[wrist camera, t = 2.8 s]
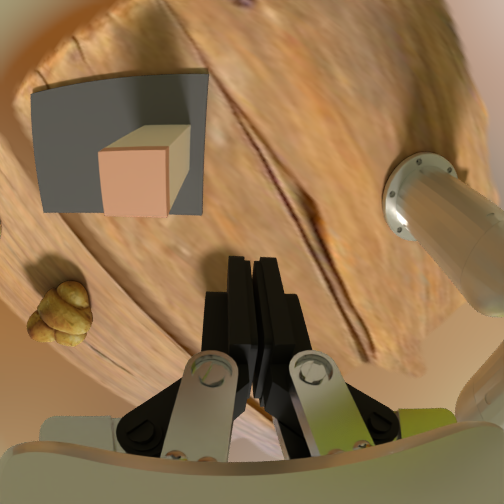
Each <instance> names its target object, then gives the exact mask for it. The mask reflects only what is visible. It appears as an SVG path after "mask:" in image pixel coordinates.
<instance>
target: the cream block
mask: <svg viewBox="0 0 504 504" xmlns="http://www.w3.org/2000/svg"><path fill="white" fill-rule="evenodd" d="M190 131H191V125H144V126H142V127H140V128H138V129H137V130H135V131H133V132H131V133H129V134H127V135H126V136H124V137H122V138H120V139H119V140H117V141H115V142H114V143H112V144H110V145H108V146H107V147H105V148H103V149H102V150H100V151H99V152H98V160H99V172H100V183H101V192H102V200H103V208H104V216H125V217H161V218H167V216H168V214H169V212H170V210H171V207H172V205H173V203H174V201H175V199H176V197H177V194H178V192H179V190H180V188H181V186H182V184H183V182H184V180H185V178H186V176H187V173H188V171H189V165H190Z"/></svg>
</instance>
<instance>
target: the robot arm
mask: <svg viewBox="0 0 504 504" xmlns="http://www.w3.org/2000/svg"><path fill="white" fill-rule="evenodd" d="M382 207H383V214H384V218H385V220H386V223H387V225H388V226H389V227H390V229H391V230H392V231H393V232H394V233H395V234H396V235H397V236H399V237H400V238H402V239H405V240H408V241H418V242H419V243H420V245H421V246H422V247H423V248H424V249H425V250H426V251H427V252H428V254H429V255H430V256H431V257H432V258H433V259H434V261H435V262H436V263H437V264H438V265H439V267H440V268H441V269H442V270H443V271H444V273H445V274H446V275H447V276H448V277H449V279H450V280H451V281H452V282H453V284H454V285H455V286H456V287H457V289H458V290H459V291H460V293H461V294H462V295H463V296H464V298H465V299H466V300H467V301H468V303H469V304H470V305H471V306H472V307H473V308H474V309H475V310H476V311H477V312H479V313H481V314H483V315H486V316H490V317H504V211H503V210H502V209H501V208H500V207H498V206H497V205H495V204H494V203H493V202H491V201H490V200H488V199H487V198H486V197H484V196H483V195H481V194H480V193H478V192H477V191H475V190H474V189H472V188H471V187H469V186H468V185H466V184H465V183H463V182H462V181H460V180H459V179H458V177H457V173H456V171H455V169H454V167H453V166H452V165H451V163H450V162H449V161H448V160H446V159H445V158H444V157H442V156H440V155H438V154H435V153H432V152H420V153H416V154H414V155H411V156H409V157H408V158H406V159H405V160H403V161H402V162H401V163H400V164H399V165H398V166H397V167H396V168H395V169H394V171H393V172H392V174H391V175H390V177H389V179H388V181H387V183H386V186H385V189H384V193H383V200H382ZM252 385H253V396H254V398H259V401H260V407H264V408H265V411H266V412H268V413H269V414H270V415H272V417H273V423H274V426H275V430H276V433H277V436H278V440H279V443H280V446H281V449H282V453H283V456H284V459H285V460H279V461H264V462H228V456H229V449H230V442H231V435H232V428H233V421H234V420H235V419H236V418H237V417H238V416H239V415H240V414H242V413H243V412H244V411H245V407H246V401H247V398H249V397H250V391H251V386H252ZM0 504H504V340H503V342H502V343H501V344H500V345H499V346H498V348H497V349H496V350H495V351H494V353H493V354H492V355H491V356H490V357H489V358H488V360H487V361H486V362H485V363H484V364H483V365H482V366H481V368H480V369H479V370H478V371H477V372H476V373H475V374H474V375H473V376H472V378H471V379H470V380H469V381H468V382H467V384H466V385H465V386H464V388H463V390H462V391H461V393H460V395H459V397H458V399H457V402H456V407H455V416H454V414H453V413H452V412H451V411H449V410H448V409H444V408H429V409H427V408H426V409H398V410H397V411H392V410H391V409H390V408H388V407H387V406H385V405H383V404H381V403H380V402H378V401H376V400H375V399H373V398H371V397H369V396H368V395H366V394H364V393H362V392H361V391H359V390H357V389H356V388H354V387H352V386H351V385H349V384H347V383H346V382H345V381H344V379H343V377H342V375H341V373H340V371H339V369H338V367H337V365H336V363H335V362H334V361H333V359H332V358H330V357H329V356H328V355H327V354H324V353H322V352H320V351H315V350H312V347H311V343H310V340H309V336H308V332H307V328H306V324H305V321H304V317H303V313H302V310H301V306H300V302H299V299H298V296H297V295H296V294H284V290H283V285H282V281H281V277H280V272H279V268H278V264H277V259H276V258H271V257H260V261H254V266H253V275H251V265H250V261H244V256H229V260H228V278H227V292H206V296H205V308H204V320H203V334H202V348H201V352H199V353H197V354H195V355H194V356H192V357H191V358H190V359H189V360H188V362H187V364H186V366H185V370H184V373H183V377H182V378H180V379H179V380H177V381H176V382H175V383H173V384H172V385H170V386H169V387H167V388H166V389H164V390H163V391H161V392H160V393H158V394H157V395H155V396H154V397H152V398H151V399H149V400H148V401H146V402H144V403H143V404H141V405H140V406H138V407H137V408H135V409H134V410H132V411H130V412H129V413H128V414H126V415H125V416H124V417H122V418H112V417H111V416H54V417H50V418H48V419H47V420H45V421H44V423H43V424H42V426H41V429H40V436H39V441H32V442H25V443H21V444H17V445H15V446H12V447H10V448H9V449H8V450H7V451H6V452H5V453H4V454H3V456H2V457H1V459H0Z"/></svg>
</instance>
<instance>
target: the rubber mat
mask: <svg viewBox="0 0 504 504" xmlns="http://www.w3.org/2000/svg"><path fill="white" fill-rule="evenodd" d="M208 81H209V74H166V75H147V76H134V77H123V78H114V79H106V80H98V81H91V82H85V83H79V84H73V85H68V86H63V87H58V88H53V89H49V90H45V91H40V92H36V93H32V94H31V121H32V135H33V146H34V156H35V164H36V171H37V178H38V184H39V190H40V196H41V201H42V206H43V211H44V213H70V212H71V213H104V208H103V200H102V192H101V183H100V172H99V160H98V152H99V151H100V150H102V149H103V148H105V147H107V146H108V145H110V144H112V143H114V142H115V141H117V140H119V139H120V138H122V137H124V136H126V135H127V134H129V133H131V132H133V131H135V130H137V129H138V128H140V127H142V126H144V125H191V131H190V165H189V171H188V173H187V176H186V178H185V180H184V182H183V184H182V186H181V188H180V190H179V192H178V194H177V197H176V199H175V201H174V203H173V205H172V207H171V210H170V212H169V214H174V215H200V216H202V212H203V172H204V147H205V127H206V109H207V94H208Z"/></svg>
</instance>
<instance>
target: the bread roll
mask: <svg viewBox="0 0 504 504" xmlns="http://www.w3.org/2000/svg"><path fill="white" fill-rule="evenodd" d="M92 322H93V316H92V312H91V309H90V306H89V299H88V295H87V292H86V290H85V288H84V287H83V286H82V285H81V284H80V283H79V282H76V281H65V282H63V283H61V284H60V285H59V286H58V288H52V289H50V290H49V291H48V292H47V293H46V294H45V296H44V298H43V299H42V300H41V302H40V304H39V306H38V307H37V311H35V312H34V313H33V314H32V315H31V316H30V318H29V320H28V322H27V331H28V333H29V335H30V337H31V338H32V339H33V340H35V341H37V342H52V341H54V340H56V342H57V343H59V344H62V345H65V346H74V347H76V345H78V344H79V343H81V342H82V341H83V340H84V339H85V337H86V335H87V331H88V330H89V329H90V327H91V324H92Z"/></svg>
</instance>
